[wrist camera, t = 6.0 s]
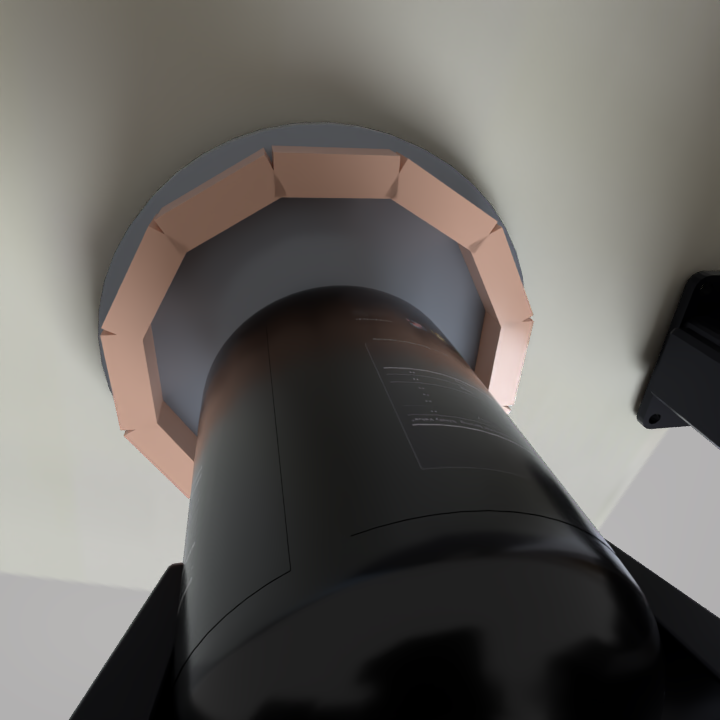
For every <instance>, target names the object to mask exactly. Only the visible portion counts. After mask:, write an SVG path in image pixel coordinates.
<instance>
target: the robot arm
mask: <svg viewBox="0 0 720 720" xmlns="http://www.w3.org/2000/svg"><path fill="white" fill-rule="evenodd" d="M702 285H704V286H703V288H702V289H700V288H701V287H702ZM637 420H638V421H639V422H640V423H641V424H642V425H643V426H644V427H645V428H647V429H656V428H669V427H681V426H692V427H693V428H694V429H695V430H696V431H698V432H699V433H700V434H701V435H703V436H704V437H705V438H706V439H707V440H709V441H710V442H711V443H712V444H714V445H715V446H716V447H717V448H718V449H720V271H702V272H698V273H696V274H695V275H693V276H692V277H691V278H690V279H689V280H688V282H687V284H686V286H685V288H684V291H683V294H682V296H681V299H680V302H679V304H678V307H677V310H676V312H675V315H674V317H673V320H672V323H671V325H670V328H669V331H668V333H667V336H666V339H665V341H664V344H663V347H662V349H661V352H660V355H659V357H658V360H657V363H656V365H655V368H654V370H653V373H652V376H651V378H650V381H649V384H648V386H647V389H646V392H645V394H644V397H643V400H642V402H641V405H640V408H639V410H638V413H637ZM604 539H605V538H604ZM605 540H606V539H605ZM606 542H607V543H608V544H609V545H610V547H611V548H612V549H613V551H614V552H615V553H616V555H617V556H618V557H619V559H620V560H621V562H622V563H623V564H624V566H625V568H626V569H627V570H628V572H629V573H630V574H631V576H632V577H633V579H634V580H635V581H636V583H637V584H638V586H639V587H640V589H641V590H642V592H643V593H644V595H645V596H646V599H647V601H648V603H649V605H650V607H651V610H652V612H653V614H654V616H655V619H656V622H657V625H658V629H659V634H660V638H661V642H662V647H663V652H664V659H665V672H666V692H665V700H664V707H663V712H662V717H661V720H720V618H718V617H717V616H716V615H714V614H713V613H711V612H710V611H708V610H707V609H706V608H704V607H702V606H701V605H700V604H698V603H697V602H695V601H694V600H692V599H691V598H690V597H688V596H687V595H685V594H684V593H682V592H681V591H680V590H678V589H677V588H675V587H674V586H672V585H671V584H669V583H668V582H667V581H665V580H664V579H662V578H661V577H659V576H658V575H656V574H655V573H654V572H652V571H651V570H649V569H648V568H646V567H645V566H644V565H642V564H641V563H639V562H637V561H636V560H635V559H633V558H632V557H631V556H629V555H627V554H626V553H625V552H623V551H622V550H620V549H619V548H617V547H616V546H615V545H613V544H612V543H610V542H609V541H607V540H606ZM182 566H183V563H175V564H172V565H170V566H169V567H168V568H167V570H166V571H165V573H164V574H163V576H162V577H161V579H160V580H159V582H158V584H157V585H156V587H155V588H154V590H153V591H152V593H151V595H150V596H149V597H148V599H147V601H146V602H145V604H144V605H143V607H142V608H141V610H140V611H139V613H138V614H137V616H136V618H135V619H134V620H133V622H132V624H131V625H130V627H129V629H128V630H127V631H126V633H125V635H124V636H123V637H122V639H121V640H120V642H119V644H118V645H117V647H116V648H115V650H114V651H113V653H112V654H111V656H110V657H109V659H108V660H107V662H106V663H105V665H104V667H103V668H102V670H101V671H100V673H99V674H98V676H97V677H96V679H95V681H94V682H93V684H92V685H91V687H90V688H89V690H88V691H87V693H86V694H85V696H84V697H83V699H82V700H81V702H80V704H79V705H78V707H77V708H76V710H75V711H74V713H73V714H72V716H71V717H70V719H69V720H166V718H167V712H166V710H167V708H168V705H167V702H168V693H169V685H170V676H171V668H172V659H173V650H174V641H175V632H176V622H177V613H178V604H179V594H180V585H181V576H182Z"/></svg>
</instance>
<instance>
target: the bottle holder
mask: <svg viewBox="0 0 720 720" xmlns="http://www.w3.org/2000/svg"><path fill="white" fill-rule="evenodd" d="M333 285H349V286H360V287H366V288H372V289H375V290H379V291H383V292H386V293H389V294H391V295H394V296H396V297H399V298H401V299H403V300H404V301H406V302H408V303H410V304H411V305H413V306H414V307H416V308H417V309H419V310H420V311H421V312H422V313H424V314H425V315H426V316H427V317H428V318H429V319H430V320H432V322H433V323H434V324H435V325H436V326H437V327H438V328H439V329H440V330H441V331H442V333H443V334H444V335H445V336H446V338H447V339H448V340H449V341H450V342H451V343H452V345H453V346H454V347H455V348H456V350H457V351H458V352H459V353H460V355H461V356H462V357H463V359H464V360H465V361H466V362H467V364H468V365H469V366H470V368H471V369H472V370H473V371H474V373H475V374H476V375H477V377H478V378H479V379H480V380H481V382H482V383H483V384H484V385H485V387H486V388H487V389H488V391H489V392H490V393H491V394H492V396H493V397H494V398H495V400H496V401H497V402H498V403H499V405H500V406H501V407H502V408H503V410H504V411H505V412H506V414H507V415H508V414H509V412H510V411H511V409H510V408H509V407H508V406H509V405H514V403H515V399H516V394H517V390H518V386H519V382H520V377H521V373H522V369H523V365H524V360H525V356H526V352H527V348H528V343H529V339H530V335H531V331H532V326H533V322H534V321H533V320H532V319H531V318H529V317H531V316H533V313H532V310H531V307H530V304H529V301H528V298H527V296H526V293H525V290H524V284H523V276H522V272H521V268H520V265H519V261H518V257H517V253H516V250H515V248H514V246H513V244H512V241H511V239H510V237H509V234H508V232H507V230H506V228H505V226H504V224H503V223H502V221H501V220H500V218H499V217H498V215H497V213H496V212H495V210H494V209H493V207H492V205H491V204H490V203H489V202H488V201H487V200H486V199H485V197H484V196H483V195H482V194H481V193H480V192H479V190H478V189H477V188H476V187H475V186H474V185H473V184H472V183H471V182H470V181H469V180H467V179H466V178H465V177H464V176H463V175H462V174H460V173H459V172H458V171H457V170H456V169H454V168H453V167H452V166H451V165H449V164H448V163H446V162H444V161H443V160H441V159H439V158H438V157H436V156H435V155H433V154H431V153H430V152H428V151H426V150H425V149H423V148H420V147H418V146H416V145H414V144H412V143H409V142H407V141H405V140H402V139H400V138H398V137H395V136H393V135H391V134H388V133H385V132H381V131H377V130H373V129H369V128H366V127H362V126H358V125H349V124H340V123H331V122H313V123H293V124H287V125H281V126H276V127H270V128H265V129H261V130H258V131H255V132H252V133H249V134H246V135H243V136H240V137H237V138H234V139H231V140H229V141H227V142H225V143H223V144H221V145H219V146H217V147H215V148H213V149H211V150H209V151H207V152H205V153H203V154H202V155H200V156H199V157H198V158H196V159H195V160H193V161H192V162H190V163H189V164H188V165H186V166H185V167H183V168H182V169H181V170H179V171H178V172H177V173H175V174H174V175H173V176H172V177H171V178H170V179H169V180H168V181H167V182H166V183H165V184H164V185H163V186H162V187H161V188H160V189H159V190H158V191H157V192H156V193H155V194H154V195H153V196H152V198H151V199H150V200H149V201H148V203H147V204H146V205H145V207H144V208H143V209H142V210H141V212H140V213H139V214H138V216H137V217H136V218H135V220H134V221H133V222H132V224H131V225H130V226H129V228H128V230H127V231H126V233H125V235H124V237H123V239H122V240H121V242H120V244H119V246H118V248H117V250H116V251H115V253H114V256H113V258H112V261H111V264H110V267H109V270H108V273H107V275H106V278H105V281H104V285H103V291H102V296H101V302H100V307H99V330H98V339H99V346H100V353H101V361H102V366H103V369H104V373H105V376H106V379H107V382H108V386H109V389H110V391H111V393H112V395H113V398H114V402H115V407H116V411H117V416H118V421H119V425H120V430H126V431H125V434H124V437H125V438H127V439H128V440H129V441H130V442H131V443H132V444H133V445H134V446H135V447H136V448H137V449H138V450H139V451H140V452H141V453H142V454H143V455H144V456H145V457H146V458H147V459H148V460H149V461H150V462H151V463H152V464H153V465H154V466H155V467H156V468H157V469H158V470H160V471H161V472H162V473H163V474H164V475H165V476H166V477H167V478H168V479H169V480H170V481H171V482H172V483H173V484H174V485H175V486H176V487H177V488H178V489H179V490H180V491H181V492H182V493H183V494H184V495H185V496H186V497H187V498H188V499H189V498H190V495H191V486H192V477H193V468H194V459H195V450H196V441H197V433H198V424H199V417H200V411H201V403H202V396H203V390H204V387H205V383H206V379H207V376H208V373H209V370H210V368H211V365H212V363H213V361H214V359H215V357H216V355H217V354H218V352H219V350H220V349H221V348H222V346H223V345H224V343H225V342H226V341H227V339H228V338H229V337H230V336H231V335H232V333H233V332H234V331H235V330H236V329H237V328H238V327H239V326H240V325H241V324H242V323H243V322H244V321H246V320H247V319H248V318H249V317H251V316H252V315H253V314H254V313H256V312H257V311H259V310H260V309H262V308H264V307H265V306H267V305H269V304H271V303H272V302H274V301H276V300H278V299H281V298H283V297H285V296H288V295H290V294H293V293H296V292H300V291H303V290H307V289H312V288H316V287H324V286H333Z"/></svg>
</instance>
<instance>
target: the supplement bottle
mask: <svg viewBox="0 0 720 720" xmlns="http://www.w3.org/2000/svg"><path fill="white" fill-rule="evenodd" d="M665 692H666V672H665V659H664V652H663V647H662V642H661V638H660V634H659V629H658V625H657V622H656V619H655V616H654V614H653V612H652V610H651V607H650V605H649V603H648V601H647V599H646V596H645V595H644V593H643V592H642V590H641V589H640V587H639V586H638V584H637V583H636V581H635V580H634V579H633V577H632V576H631V574H630V573H629V572H628V570H627V569H626V568H625V566H624V564H623V563H622V562H621V560H620V559H619V557H618V556H617V555H616V553H615V552H614V551H613V549H612V548H611V547H610V545H609V544H608V543H607V542H606V540H605V539H604V538H603V536H602V535H601V534H600V533H599V531H598V530H597V529H596V527H595V526H594V525H593V524H592V522H591V521H590V520H589V519H588V517H587V516H586V515H585V513H584V512H583V511H582V510H581V508H580V507H579V506H578V504H577V503H576V502H575V501H574V499H573V498H572V497H571V495H570V494H569V493H568V492H567V490H566V489H565V488H564V487H563V485H562V484H561V483H560V481H559V480H558V479H557V478H556V476H555V475H554V474H553V472H552V471H551V470H550V469H549V467H548V466H547V465H546V463H545V462H544V461H543V460H542V458H541V457H540V456H539V455H538V453H537V452H536V451H535V449H534V448H533V447H532V446H531V444H530V443H529V442H528V440H527V439H526V438H525V437H524V435H523V434H522V433H521V432H520V430H519V429H518V428H517V426H516V425H515V424H514V423H513V421H512V420H511V419H510V417H509V416H508V415H507V414H506V412H505V411H504V410H503V408H502V407H501V406H500V405H499V403H498V402H497V401H496V400H495V398H494V397H493V396H492V394H491V393H490V392H489V391H488V389H487V388H486V387H485V385H484V384H483V383H482V382H481V380H480V379H479V378H478V377H477V375H476V374H475V373H474V371H473V370H472V369H471V368H470V366H469V365H468V364H467V362H466V361H465V360H464V359H463V357H462V356H461V355H460V353H459V352H458V351H457V350H456V348H455V347H454V346H453V345H452V343H451V342H450V341H449V340H448V339H447V338H446V336H445V335H444V334H443V333H442V331H441V330H440V329H439V328H438V327H437V326H436V325H435V324H434V323H433V322H432V320H430V319H429V318H428V317H427V316H426V315H425V314H424V313H422V312H421V311H420V310H419V309H417V308H416V307H414V306H413V305H411V304H410V303H408V302H406V301H404V300H403V299H401V298H399V297H396V296H394V295H391V294H389V293H386V292H383V291H379V290H375V289H372V288H366V287H360V286H349V285H333V286H324V287H316V288H312V289H307V290H303V291H300V292H296V293H293V294H290V295H288V296H285V297H283V298H281V299H278V300H276V301H274V302H272V303H271V304H269V305H267V306H265V307H264V308H262V309H260V310H259V311H257V312H256V313H254V314H253V315H252V316H251V317H249V318H248V319H247V320H246V321H244V322H243V323H242V324H241V325H240V326H239V327H238V328H237V329H236V330H235V331H234V332H233V333H232V335H231V336H230V337H229V338H228V339H227V341H226V342H225V343H224V345H223V346H222V348H221V349H220V350H219V352H218V354H217V355H216V357H215V359H214V361H213V363H212V365H211V368H210V370H209V373H208V376H207V379H206V383H205V387H204V390H203V396H202V403H201V411H200V417H199V424H198V433H197V441H196V450H195V459H194V468H193V477H192V486H191V495H190V504H189V512H188V521H187V530H186V539H185V548H184V557H183V566H182V576H181V585H180V594H179V604H178V613H177V622H176V632H175V641H174V650H173V659H172V668H171V676H170V685H169V693H168V702H167V705H168V708H167V710H166V712H167V718H166V720H661V717H662V712H663V707H664V700H665Z"/></svg>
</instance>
